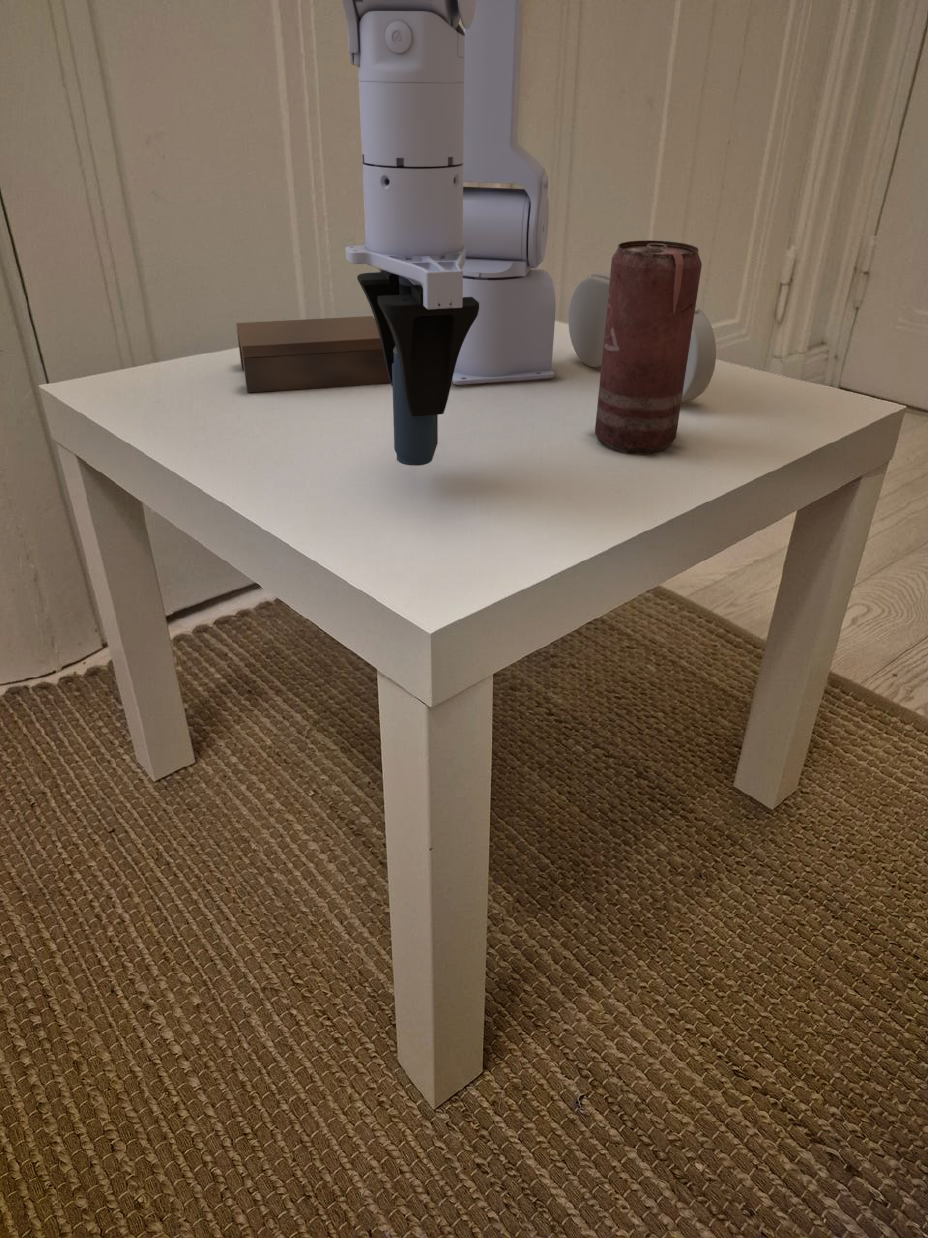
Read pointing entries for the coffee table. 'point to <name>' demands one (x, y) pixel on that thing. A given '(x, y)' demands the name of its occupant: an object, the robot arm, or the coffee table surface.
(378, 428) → the coffee table surface
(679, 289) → the can
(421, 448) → the vaping device
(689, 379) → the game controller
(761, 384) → the coffee table surface
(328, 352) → the brown wooden box
